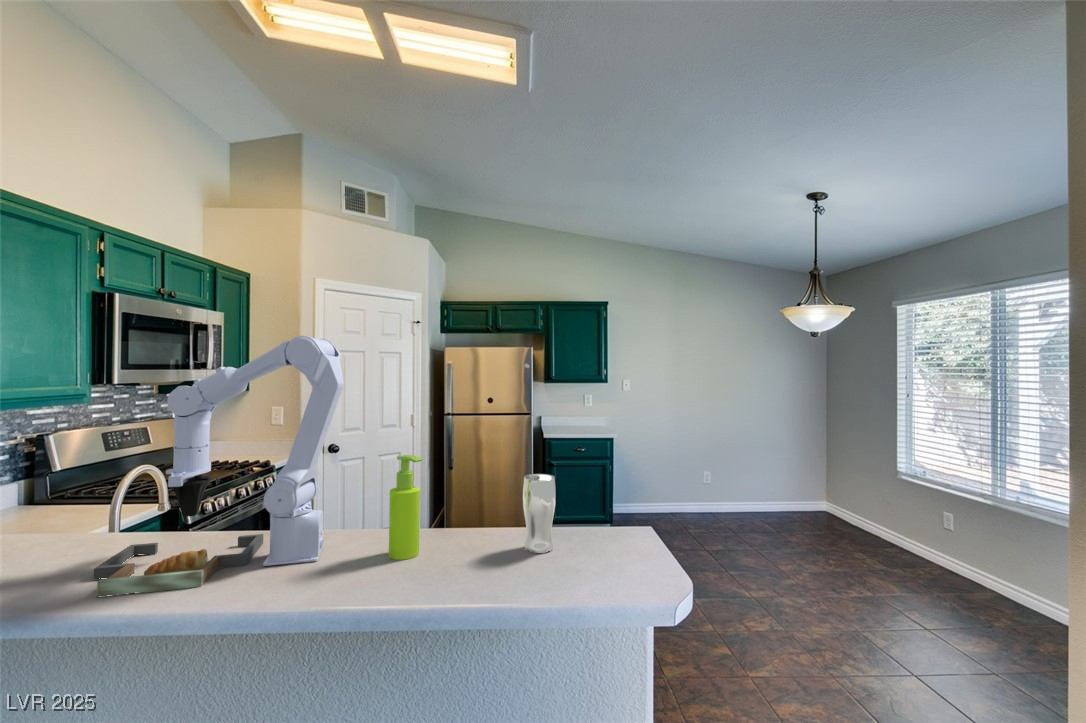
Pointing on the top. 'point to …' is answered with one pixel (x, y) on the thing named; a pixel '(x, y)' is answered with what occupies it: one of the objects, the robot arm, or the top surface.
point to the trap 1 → (123, 559)
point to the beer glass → (539, 511)
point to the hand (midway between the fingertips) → (190, 515)
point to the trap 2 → (242, 558)
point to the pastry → (180, 563)
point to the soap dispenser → (404, 513)
